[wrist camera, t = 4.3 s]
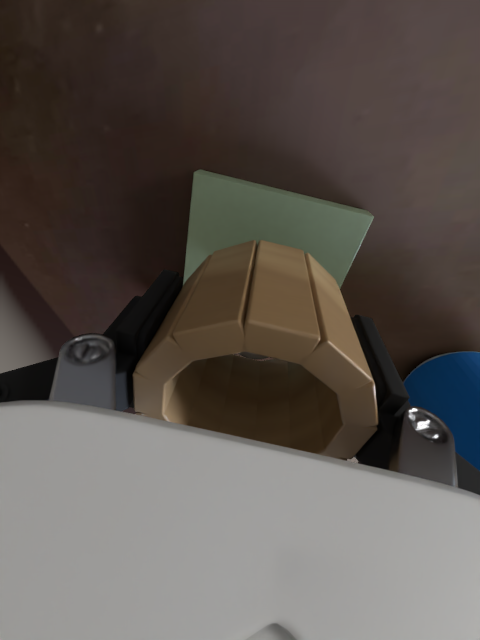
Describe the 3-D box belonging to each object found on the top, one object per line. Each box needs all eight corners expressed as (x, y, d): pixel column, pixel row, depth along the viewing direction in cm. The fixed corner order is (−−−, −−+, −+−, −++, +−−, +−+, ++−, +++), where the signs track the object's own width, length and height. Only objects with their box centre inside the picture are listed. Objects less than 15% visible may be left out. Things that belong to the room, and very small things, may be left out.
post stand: (199, 169, 14) (146, 194, 8) (367, 210, 14) (428, 263, 9) (184, 311, 19) (144, 388, 14) (308, 340, 20) (321, 427, 14)
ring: (190, 221, 10) (127, 292, 6) (371, 265, 10) (437, 364, 6) (178, 355, 14) (135, 454, 9) (307, 385, 14) (320, 494, 10)
